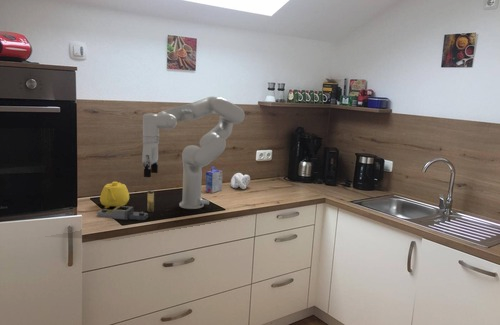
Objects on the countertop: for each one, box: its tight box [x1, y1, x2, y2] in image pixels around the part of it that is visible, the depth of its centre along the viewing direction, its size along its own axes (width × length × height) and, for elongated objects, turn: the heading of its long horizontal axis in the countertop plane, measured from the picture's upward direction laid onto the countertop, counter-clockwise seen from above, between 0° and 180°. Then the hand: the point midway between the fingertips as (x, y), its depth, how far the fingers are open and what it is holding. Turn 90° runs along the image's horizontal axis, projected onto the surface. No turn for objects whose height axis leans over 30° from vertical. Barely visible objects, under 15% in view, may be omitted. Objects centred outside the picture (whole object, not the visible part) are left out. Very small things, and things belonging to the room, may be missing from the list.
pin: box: [147, 189, 155, 213], centre depth 203 cm, size 3×3×10 cm
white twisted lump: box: [230, 172, 251, 191], centre depth 258 cm, size 11×12×9 cm
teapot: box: [99, 181, 130, 209], centre depth 207 cm, size 13×20×12 cm
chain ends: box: [96, 205, 149, 221], centre depth 193 cm, size 22×7×4 cm, turn 84°
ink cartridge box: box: [205, 166, 223, 194], centre depth 248 cm, size 10×6×14 cm, turn 148°
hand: (150, 174), depth 201 cm, fingers open, 9 cm apart
